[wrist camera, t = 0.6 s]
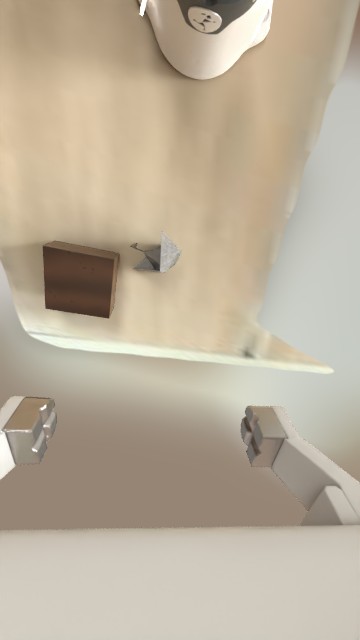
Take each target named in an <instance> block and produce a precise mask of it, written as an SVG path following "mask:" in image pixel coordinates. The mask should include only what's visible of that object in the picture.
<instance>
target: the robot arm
mask: <svg viewBox="0 0 360 640" xmlns="http://www.w3.org/2000/svg"><path fill="white" fill-rule="evenodd" d="M138 1H139V3H140V5H141V10H140V15H142V16H143V13H144V10H145V12H146V13H147V14H148V16H149V18H150V21H151V24H152V27H153V30H154V33H155V37H156V39H157V42H158V44H159V46H160V49H161V50H162V52H163V54H164V56H165V57H166V59H167V60H168V61H169V62H170V64H171V65H172V66H173V67H174V68H175V69H177V70H178V71H179V72H181V73H182V74H184V75H186V76H188V77H191V78H194V79H211V78H214V77H217V76H219V75H221V74H223V73H224V72H226V71H227V70H228V69H229V68H230V67H232V66H233V65H234V63H235V62H236V61H237V60H238V59H239V57H240V56H241V55H242V54H243V53H244V52H245V51H246V50H247V49H249V48H251V47H253V46H255V45H257V44H259V43H260V42H261V41H263V40H264V38H265V37H266V35H267V33H268V31H269V27H270V20H271V12H272V4H273V0H138ZM54 406H55V403H54V399H52V398H39V397H19V396H12V397H11V398H9V399H8V401H7V402H6V403H5V405H4V406H3V407H2V409H1V410H0V479H1V478H3V477H4V476H5V475H6V474H7V473H8V472H9V471H10V470H11V469H13V468H14V467H15V465H19V464H20V465H21V464H40V462H41V460H42V458H43V456H44V453H45V451H46V449H47V444H46V441H48V440H49V439H50V438H51V437H52V436H53V434H54V431H55V427H56V423H57V415H56V412H55V411H54V410H53V408H54ZM245 414H246V417H245V418H243V419H242V423H241V435H242V439H243V442H244V443H245V444H246V445H247V446H248V449H247V451H246V452H247V455H248V458H249V461H250V464H251V467H271V469H272V470H273V472H274V473H275V474H276V475H277V476H278V477H279V478H280V480H281V481H282V482H283V483H284V484H285V485H286V487H287V488H288V489H289V490H290V491H291V492H292V493H293V495H294V496H295V497H296V498H297V499H298V500H299V502H300V503H301V504H302V505H303V506H304V507H305V509H306V510H307V511H308V512H307V514H306V516H305V517H304V519H303V520H302V522H301V526H260V527H259V526H257V527H255V526H254V527H185V528H121V529H120V528H119V529H61V530H59V529H56V530H0V640H360V483H359V482H358V481H357V480H355V479H354V478H353V477H352V476H350V475H349V474H348V473H346V472H345V471H344V470H343V469H341V468H340V467H339V466H338V465H336V464H335V463H334V462H332V461H331V460H330V459H329V458H327V457H326V456H325V455H324V454H322V453H321V452H320V451H318V450H317V449H316V448H315V447H313V446H312V445H311V444H310V443H308V442H307V441H306V440H304V439H300V437H299V435H298V433H297V432H296V430H295V428H294V426H293V425H292V423H291V422H290V419H289V418H288V416H287V414H286V412H285V410H284V409H283V408H282V407H273V406H270V407H269V406H247V408H246V410H245Z"/></svg>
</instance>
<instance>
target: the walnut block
mask: <svg viewBox="0 0 360 640" xmlns="http://www.w3.org/2000/svg"><path fill="white" fill-rule="evenodd" d="M43 257H44V281H45V306H46V309H51V310H58V311H64V312H71V313H77V314H84V315H90V316H97V317H103V318H110V315H111V313H112V311H113V309H114V300H115V290H116V280H117V269H118V259H119V253H115V252H110V251H105V250H100V249H95V248H90V247H85V246H79V245H74V244H69V243H64V242H59V241H53V242H51V243H48V244H46V245H44V246H43Z"/></svg>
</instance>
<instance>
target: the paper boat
mask: <svg viewBox="0 0 360 640" xmlns="http://www.w3.org/2000/svg"><path fill="white" fill-rule="evenodd" d="M130 247H133V248H135V249H137V248H136V247H137V243H136V244H133V245H131V246H130ZM138 250H140V249H138ZM140 251H142V250H140ZM143 252H144V254H145V255H146V258H145V259H144V260H143V261H142V262H141V263H139V264H138V265H137V266H136V267H135V268H133V269H139V270H146V271H153V272H160V273H165V272H166V271H167V270H169V269H170V268H171V267H172V266H173V265H175V263H176V261H177V259H178V258H179V256H180V253H181V250H180V249H179V248H178V247H177V246H176V245H175V244H174V243H173V242H172V241H171V240H170V239H169V238H168V237H167V236H166V235H165V234H164V233H163V232H162V233H161V246H160V247H158V248H157V249H156V250H150V251H143Z"/></svg>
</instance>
